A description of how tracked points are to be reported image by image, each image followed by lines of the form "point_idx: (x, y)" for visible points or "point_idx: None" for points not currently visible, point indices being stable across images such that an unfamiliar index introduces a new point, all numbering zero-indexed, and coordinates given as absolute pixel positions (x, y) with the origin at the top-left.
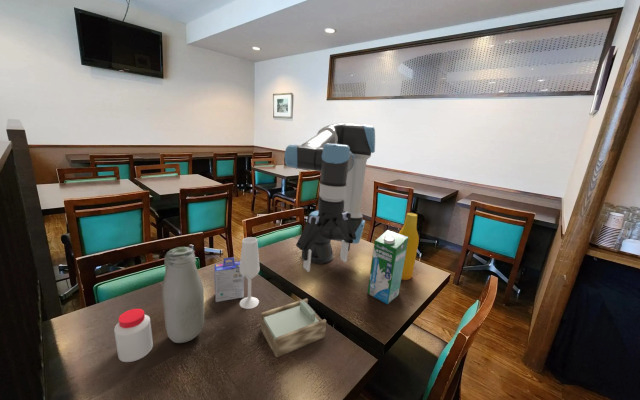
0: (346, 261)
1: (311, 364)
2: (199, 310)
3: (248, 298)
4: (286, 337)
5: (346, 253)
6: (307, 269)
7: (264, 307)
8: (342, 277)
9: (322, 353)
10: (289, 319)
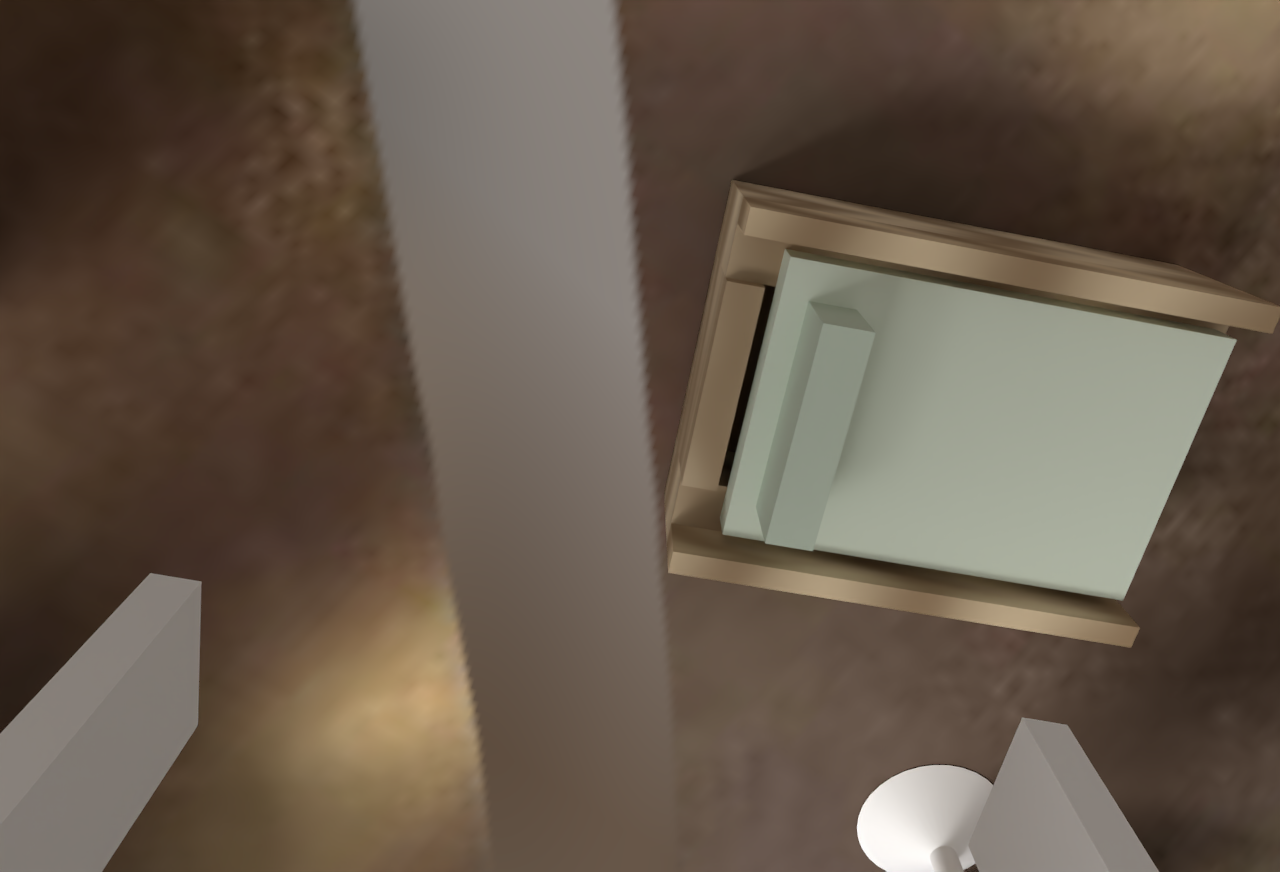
0: (152, 581)
1: (1033, 28)
2: None
3: (957, 854)
4: (1184, 285)
5: (68, 712)
6: (1081, 758)
7: (878, 725)
8: (3, 666)
9: (880, 54)
10: (983, 452)
